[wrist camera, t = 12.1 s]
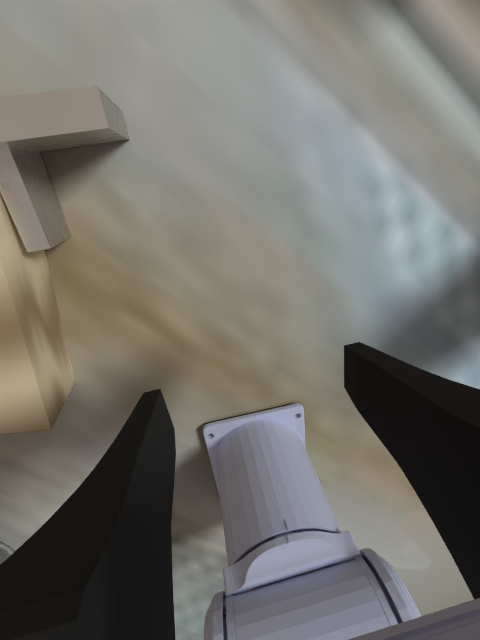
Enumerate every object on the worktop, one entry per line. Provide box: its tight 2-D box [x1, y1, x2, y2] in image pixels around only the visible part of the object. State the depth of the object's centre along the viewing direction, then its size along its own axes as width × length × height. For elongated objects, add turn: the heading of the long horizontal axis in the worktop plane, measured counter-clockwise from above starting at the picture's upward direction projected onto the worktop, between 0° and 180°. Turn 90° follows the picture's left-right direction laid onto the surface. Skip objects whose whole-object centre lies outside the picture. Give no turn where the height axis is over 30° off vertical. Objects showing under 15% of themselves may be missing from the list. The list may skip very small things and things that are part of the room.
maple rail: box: [0, 192, 75, 434], centre depth 16 cm, size 12×4×4 cm, turn 178°
